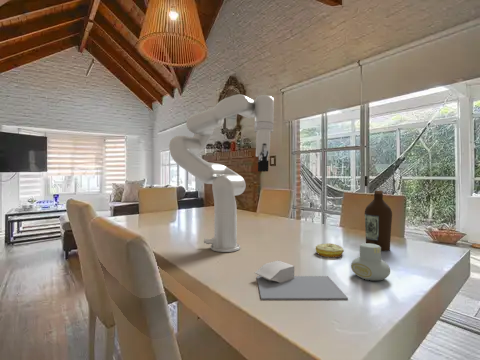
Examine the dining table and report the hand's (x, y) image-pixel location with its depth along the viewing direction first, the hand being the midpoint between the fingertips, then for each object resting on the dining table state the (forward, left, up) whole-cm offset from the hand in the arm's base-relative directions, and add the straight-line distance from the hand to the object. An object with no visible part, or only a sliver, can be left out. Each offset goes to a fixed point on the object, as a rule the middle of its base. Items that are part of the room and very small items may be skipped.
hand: (262, 171), depth 108 cm
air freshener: (+31, -25, -33) cm, 52 cm away
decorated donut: (+27, 0, -33) cm, 43 cm away
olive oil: (+51, +9, -33) cm, 62 cm away
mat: (+7, -32, -33) cm, 47 cm away
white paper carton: (+5, -24, -31) cm, 39 cm away
